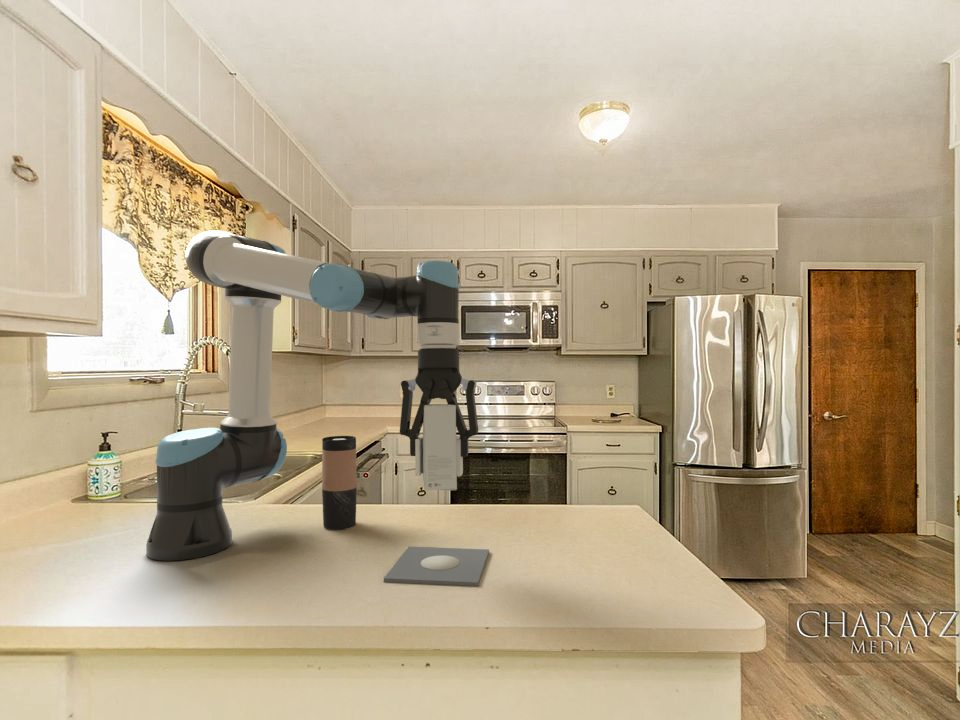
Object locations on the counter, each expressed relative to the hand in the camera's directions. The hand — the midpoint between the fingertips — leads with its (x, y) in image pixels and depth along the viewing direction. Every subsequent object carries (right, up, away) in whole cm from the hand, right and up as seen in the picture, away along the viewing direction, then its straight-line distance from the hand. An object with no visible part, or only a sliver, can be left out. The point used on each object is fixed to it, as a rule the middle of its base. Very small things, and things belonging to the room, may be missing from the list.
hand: (439, 474), depth 97 cm
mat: (0, -17, 0) cm, 17 cm away
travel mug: (-25, -17, +25) cm, 39 cm away
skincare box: (0, -2, 0) cm, 2 cm away
